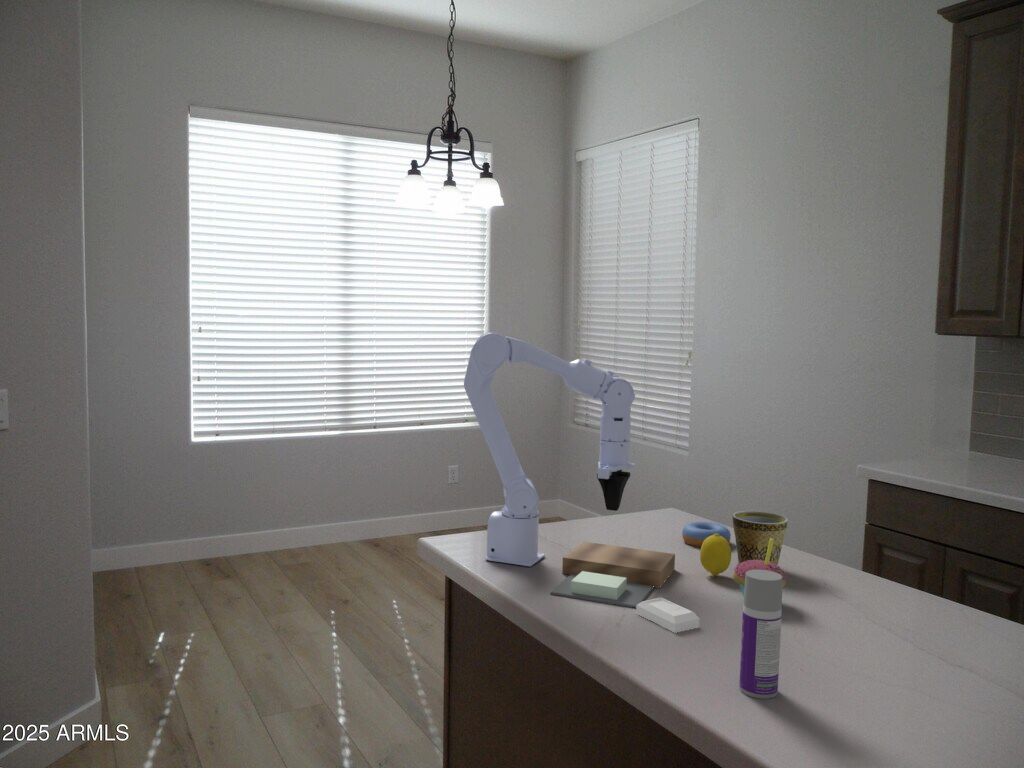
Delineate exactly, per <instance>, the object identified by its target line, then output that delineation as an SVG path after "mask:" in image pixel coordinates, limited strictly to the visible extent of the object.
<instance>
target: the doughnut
mask: <svg viewBox="0 0 1024 768" xmlns="http://www.w3.org/2000/svg"><path fill="white" fill-rule="evenodd" d="M715 533H717V534H719V535H720V536H722V537H723V538H725V539H726V540H727V541H728V543H729V544H730V542H731V535H732V534H731V532H730V530H729V528H728V527H726V526H725V525H723V524H720V523H716V522H709V521H694V522H690V523H687V524H686V525H684V527H683V528H682V532H681V536H682V539H683V541H684V542H685V543H686V544H687V545H689V546H692V547H695V546H696V547H695V548H700V549H701V546H702V543H703V542H704V540H705V539H706V538H707V537H709V536H711V535H714V534H715Z"/></svg>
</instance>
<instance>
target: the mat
mask: <svg viewBox="0 0 1024 768" xmlns="http://www.w3.org/2000/svg"><path fill="white" fill-rule="evenodd" d="M576 576H577V574H571V575H569V576H567V577H566V578H565V579H564V580H562V581H561V582H560V583H559V584H558V585H557V586H555V587H554V588H552V589H551V591H550V592H549V593H550V595H555V596H560V597H564V598H565V597H566V598H572V599H577V600H584V601H589V602H597V603H601V602H602V603H603V604H607V603H609V604H608V605H613V604H616V605H615V606H620V605H621V607H626V606H627V607H628V608H632V607H635V608H634V609H636V605H638V604H639V603H641V602H642V601H643V600H644V601H645V599H646V598H647V597H648V596H649V594H650V593H651V592H652V591H653V589H654V588H653V586H649V585H642V584H636V583H629V582H627V585H626V590H625V591H624V592H623V593H622V595H621V596H620V597H619V598H618V599H617V600H614V599H608V598H602V597H596V596H590V595H583V594H577V593H571V581H572V580H573V579H574V578H575V577H576ZM652 588H653V589H652ZM651 590H652V591H651ZM650 591H651V592H650ZM649 592H650V593H649ZM648 593H649V594H648ZM647 595H648V596H647ZM646 596H647V597H646ZM645 597H646V598H645ZM644 598H645V599H644ZM602 603H601V604H602ZM627 607H626V608H627Z"/></svg>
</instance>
